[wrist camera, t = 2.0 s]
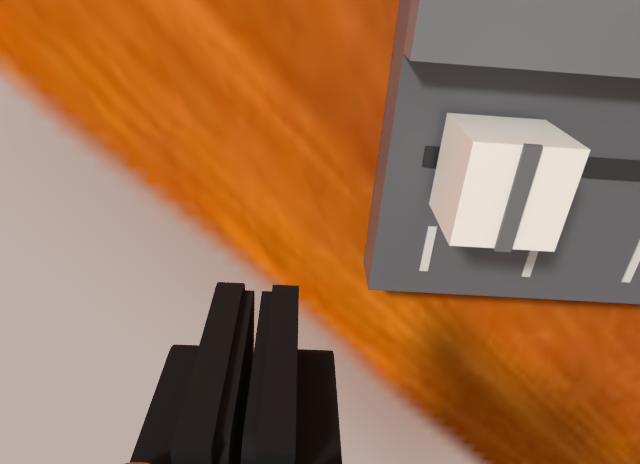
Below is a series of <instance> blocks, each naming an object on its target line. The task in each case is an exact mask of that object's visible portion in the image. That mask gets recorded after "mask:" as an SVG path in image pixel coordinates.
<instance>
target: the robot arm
mask: <svg viewBox="0 0 640 464" xmlns="http://www.w3.org/2000/svg"><path fill="white" fill-rule="evenodd" d="M298 298H299V286H289V285H273V288H272V292H269V291H262V296H261V304H260V311H259V319H258V326H257V333H256V341H255V348H254V291H246V290H245V285H244V283H223V282H218V283H217V286H216V288H215V292H214V296H213V299H212V303H211V307H210V310H209V314H208V317H207V320H206V324H205V327H204V331H203V334H202V338H201V342H200V345H199V346H196V345H173V346H172V347H171V349H170V351H169V354H168V357H167V359H166V362H165V365H164V368H163V371H162V373H161V376H160V379H159V382H158V385H157V388H156V390H155V393H154V396H153V399H152V402H151V404H150V407H149V410H148V413H147V415H146V418H145V421H144V424H143V427H142V429H141V432H140V435H139V438H138V441H137V443H136V446H135V449H134V452H133V455H132V458H131V460H130V463H126V464H342V456H341V445H340V444H341V443H340V430H339V417H338V404H337V390H336V378H335V364H334V354H333V351H326V350H298V348H297V346H298Z"/></svg>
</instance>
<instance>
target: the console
mask: <svg viewBox="0 0 640 464" xmlns="http://www.w3.org/2000/svg"><path fill="white" fill-rule="evenodd" d="M447 113H458V114H472V115H486V116H500V117H514V118H528V119H542V120H547V121H548V122H550V123H551V124H553V125H554V126H556V127H557V128H559V129H560V130H562V131H563V132H565V133H566V134H568V135H569V136H571V137H572V138H574V139H575V140H577V141H578V142H580V143H581V144H583V145H584V146H586V147H587V148H589V149H590V153H589V156H588V159H587V162H586V164H585V167H584V170H583V173H582V176H581V179H580V181H579V184H578V187H577V190H576V193H575V195H574V198H573V201H572V204H571V207H570V210H569V212H568V215H567V218H566V221H565V224H564V226H563V229H562V232H561V235H560V238H559V241H558V243H557V246H556V249H555V252H548V251H531V250H514V249H512V250H511V252H498V251H495V250H494V248H480V247H463V246H449V244H448V242H447V240H446V238H445V236H444V234H443V232H442V230H441V228H440V226H439V224H438V222H437V219H436V217H435V215H434V213H433V211H432V209H431V207H430V205H429V201H430V196H431V191H432V186H433V181H434V176H435V171H436V166H437V161H438V156H439V151H440V146H441V141H442V136H443V131H444V126H445V121H446V116H447ZM364 267H365V273H366V279H367V285H368V290H385V291H404V292H422V293H441V294H460V295H478V296H497V297H515V298H534V299H552V300H571V301H589V302H608V303H627V304H640V0H400V3H399V11H398V18H397V25H396V32H395V39H394V47H393V54H392V61H391V68H390V76H389V83H388V90H387V97H386V104H385V112H384V119H383V126H382V133H381V141H380V148H379V155H378V162H377V170H376V177H375V184H374V191H373V198H372V206H371V213H370V220H369V227H368V235H367V242H366V249H365V256H364Z"/></svg>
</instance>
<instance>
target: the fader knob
mask: <svg viewBox="0 0 640 464" xmlns="http://www.w3.org/2000/svg"><path fill="white" fill-rule="evenodd" d="M589 153H590V149H589V148H587V147H586V146H584V145H583V144H581V143H580V142H578V141H577V140H575V139H574V138H572V137H571V136H569V135H568V134H566V133H565V132H563V131H562V130H560V129H559V128H557V127H556V126H554V125H553V124H551V123H550V122H548V121H547V120H542V119H528V118H514V117H500V116H486V115H472V114H458V113H447V116H446V121H445V126H444V131H443V136H442V141H441V146H440V151H439V156H438V161H437V166H436V171H435V176H434V181H433V186H432V191H431V196H430V201H429V205H430V207H431V209H432V211H433V213H434V215H435V217H436V219H437V222H438V224H439V226H440V228H441V230H442V232H443V234H444V236H445V238H446V240H447V242H448V244H449V246H463V247H480V248H494V250H495V251H498V252H511V250H512V249H514V250H531V251H548V252H555V249H556V246H557V243H558V241H559V238H560V235H561V232H562V229H563V226H564V224H565V221H566V218H567V215H568V212H569V210H570V207H571V204H572V201H573V198H574V195H575V193H576V190H577V187H578V184H579V181H580V179H581V176H582V173H583V170H584V167H585V164H586V162H587V159H588V156H589Z"/></svg>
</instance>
